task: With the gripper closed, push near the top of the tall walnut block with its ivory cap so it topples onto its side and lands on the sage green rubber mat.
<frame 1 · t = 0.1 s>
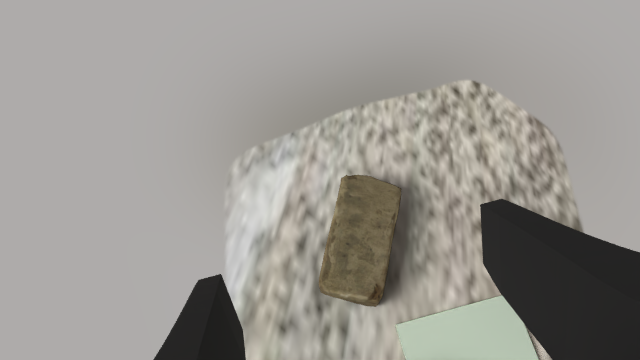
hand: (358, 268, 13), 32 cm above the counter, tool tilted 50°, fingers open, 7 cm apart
stone block: (359, 245, 46), on the counter
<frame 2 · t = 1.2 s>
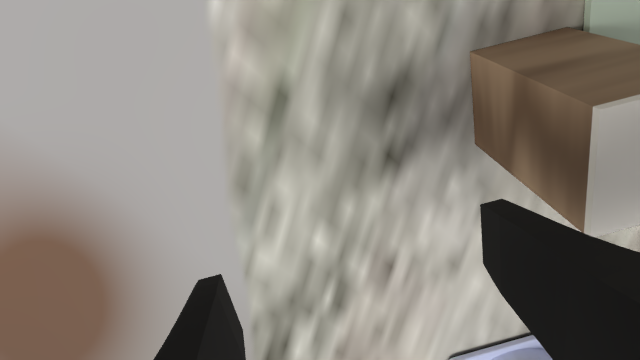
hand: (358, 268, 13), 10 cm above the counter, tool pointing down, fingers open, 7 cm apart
walnut block: (519, 88, 22), on the counter
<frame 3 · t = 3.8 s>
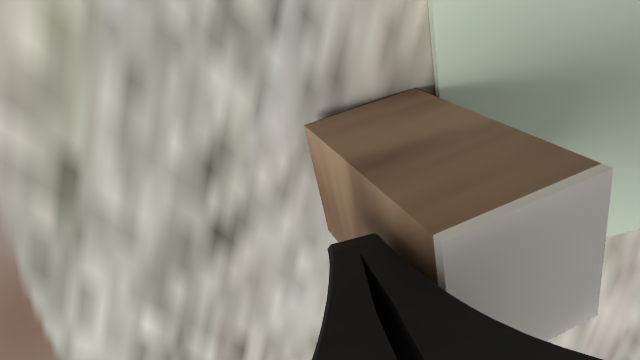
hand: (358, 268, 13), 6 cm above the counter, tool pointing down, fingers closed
walnut block: (370, 160, 18), on the counter, tilted 12°
sage mat: (570, 104, 19), on the counter
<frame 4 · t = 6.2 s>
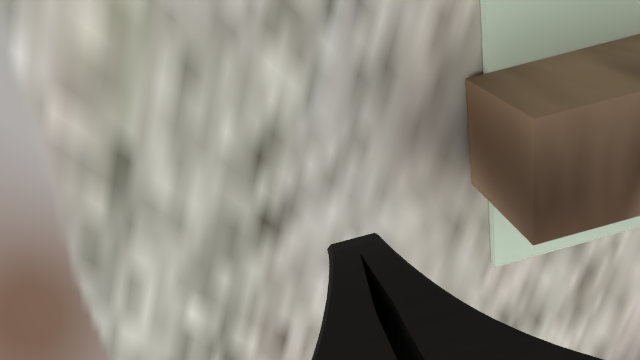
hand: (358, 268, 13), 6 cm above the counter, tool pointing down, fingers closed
walnut block: (497, 157, 16), point 3 cm above the counter, tilted 90°, touching sage mat
sage mat: (615, 91, 19), on the counter
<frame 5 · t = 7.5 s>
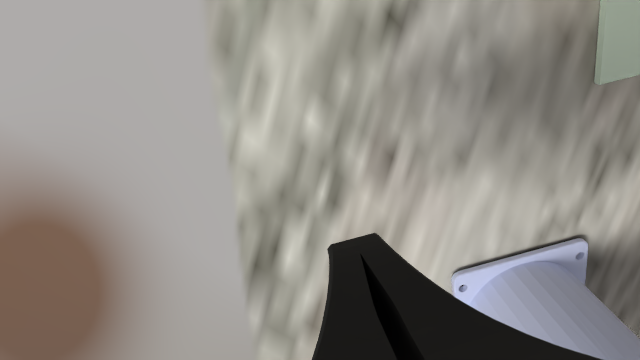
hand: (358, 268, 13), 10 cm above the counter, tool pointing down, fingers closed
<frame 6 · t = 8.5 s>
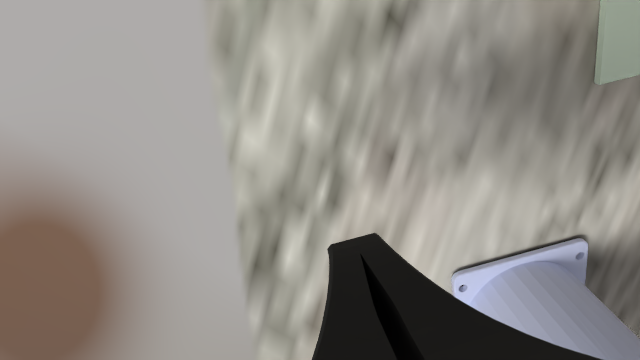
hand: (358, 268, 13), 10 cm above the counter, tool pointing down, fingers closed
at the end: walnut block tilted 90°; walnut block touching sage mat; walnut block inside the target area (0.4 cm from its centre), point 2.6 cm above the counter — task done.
